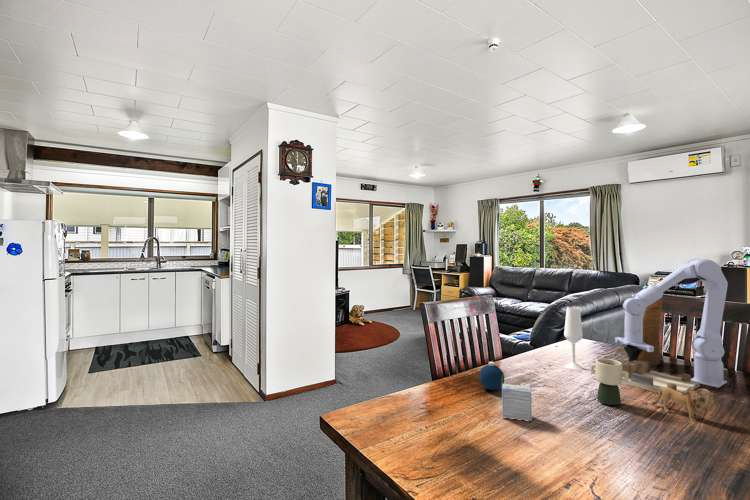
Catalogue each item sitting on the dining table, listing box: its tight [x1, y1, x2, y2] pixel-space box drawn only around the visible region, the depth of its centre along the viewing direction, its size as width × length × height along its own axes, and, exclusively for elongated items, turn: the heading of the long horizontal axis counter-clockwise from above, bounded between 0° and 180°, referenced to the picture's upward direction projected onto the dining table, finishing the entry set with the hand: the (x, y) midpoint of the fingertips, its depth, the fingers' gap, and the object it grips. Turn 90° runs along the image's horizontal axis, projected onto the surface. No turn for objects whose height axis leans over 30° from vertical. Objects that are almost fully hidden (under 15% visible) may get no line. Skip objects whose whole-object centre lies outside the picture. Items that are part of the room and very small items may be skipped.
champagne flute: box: [563, 306, 584, 371], centre depth 151 cm, size 7×7×24 cm
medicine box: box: [501, 383, 533, 422], centre depth 107 cm, size 8×4×9 cm, turn 71°
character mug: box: [589, 358, 629, 406], centre depth 116 cm, size 11×7×13 cm, turn 35°
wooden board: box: [621, 359, 651, 377], centre depth 138 cm, size 14×3×4 cm, turn 116°
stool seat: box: [621, 370, 700, 394], centre depth 133 cm, size 18×22×4 cm
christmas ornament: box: [478, 359, 505, 391], centre depth 128 cm, size 8×8×10 cm
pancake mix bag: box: [638, 297, 664, 368], centre depth 152 cm, size 7×19×28 cm, turn 122°
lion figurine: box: [650, 387, 715, 422], centre depth 108 cm, size 15×5×9 cm, turn 35°
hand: (633, 365), depth 141 cm, fingers closed, pressing on wooden board
